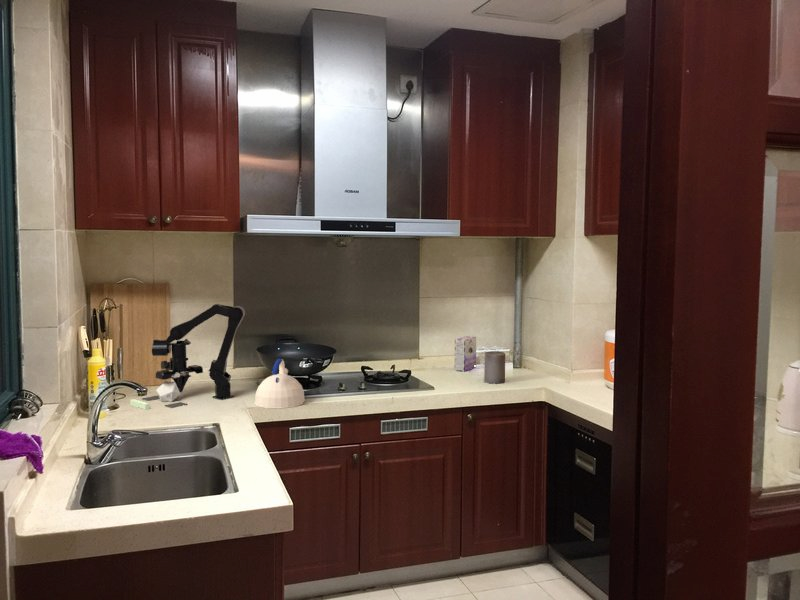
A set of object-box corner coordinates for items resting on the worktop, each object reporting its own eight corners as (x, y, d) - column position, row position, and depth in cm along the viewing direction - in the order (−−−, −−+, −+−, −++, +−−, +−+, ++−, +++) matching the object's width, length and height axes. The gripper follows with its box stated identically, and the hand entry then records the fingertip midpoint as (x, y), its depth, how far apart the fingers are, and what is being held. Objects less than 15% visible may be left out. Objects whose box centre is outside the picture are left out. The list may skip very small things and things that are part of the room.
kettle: (309, 396, 273) (308, 354, 271) (300, 409, 252) (299, 363, 251) (261, 396, 273) (260, 354, 272) (248, 409, 253) (247, 363, 251)
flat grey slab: (187, 404, 259) (187, 399, 259) (152, 411, 248) (152, 406, 247) (157, 396, 274) (157, 391, 273) (123, 402, 262) (123, 397, 262)
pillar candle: (501, 379, 307) (501, 348, 306) (507, 383, 298) (508, 351, 297) (481, 380, 306) (481, 348, 304) (487, 384, 296) (488, 352, 295)
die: (160, 406, 259) (175, 386, 260) (148, 393, 263) (162, 374, 263) (173, 408, 267) (187, 389, 267) (161, 396, 270) (175, 377, 271)
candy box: (466, 366, 340) (466, 335, 339) (476, 367, 337) (476, 336, 335) (454, 370, 328) (454, 338, 327) (464, 372, 325) (464, 339, 324)
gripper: (188, 350, 280) (189, 385, 281) (148, 356, 266) (149, 393, 267) (203, 353, 273) (204, 389, 274) (162, 359, 259) (163, 397, 260)
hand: (180, 392), depth 269 cm, fingers closed
